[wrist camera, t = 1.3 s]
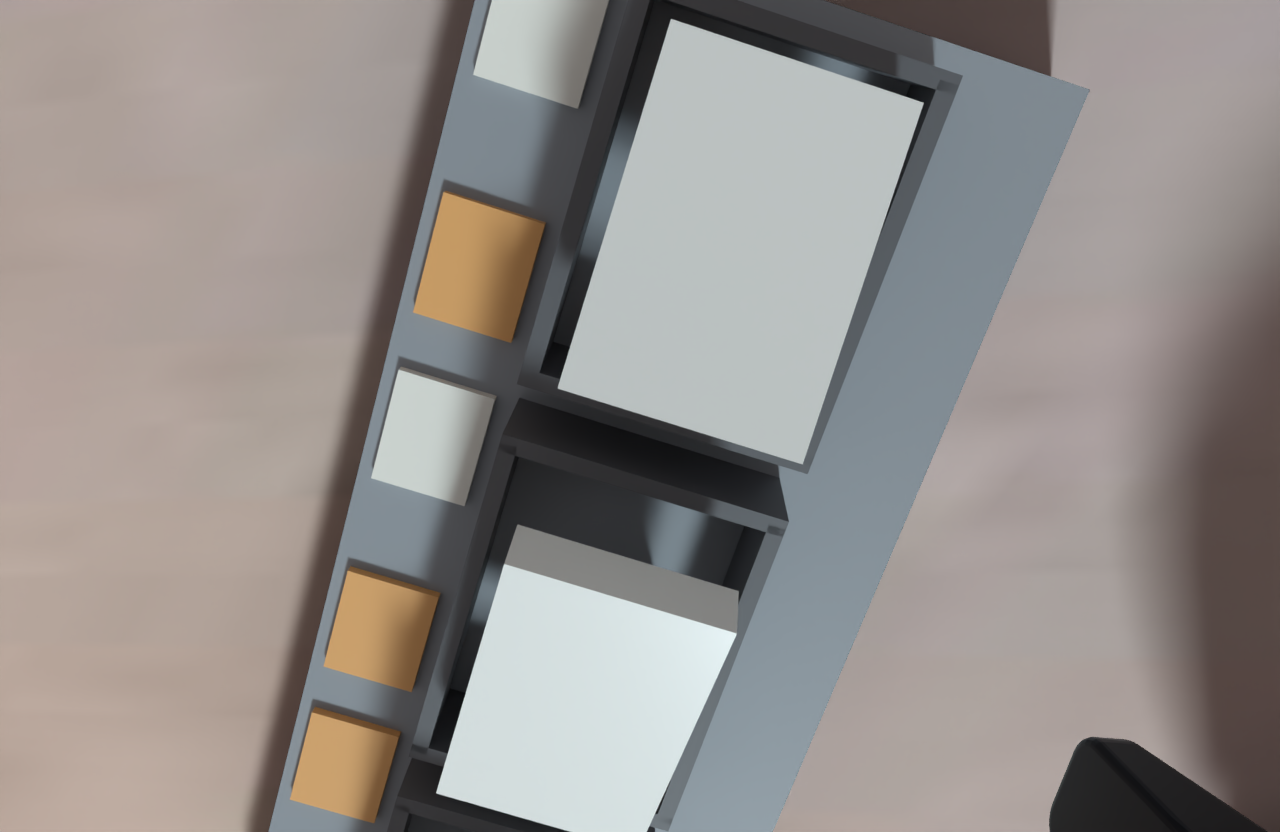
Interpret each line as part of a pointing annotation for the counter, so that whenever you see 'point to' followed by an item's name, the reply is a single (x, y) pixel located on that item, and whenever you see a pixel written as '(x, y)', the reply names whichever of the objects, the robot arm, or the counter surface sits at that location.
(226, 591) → the counter surface
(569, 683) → the middle rocker
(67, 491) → the counter surface
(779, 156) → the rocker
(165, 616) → the counter surface
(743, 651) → the switch panel
